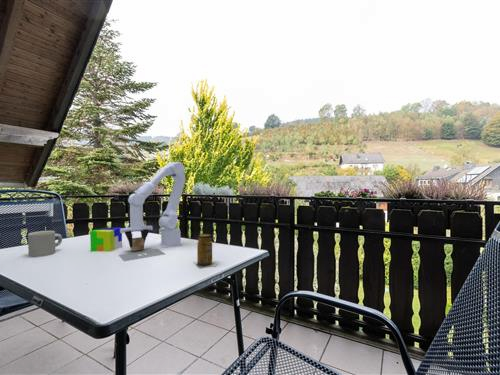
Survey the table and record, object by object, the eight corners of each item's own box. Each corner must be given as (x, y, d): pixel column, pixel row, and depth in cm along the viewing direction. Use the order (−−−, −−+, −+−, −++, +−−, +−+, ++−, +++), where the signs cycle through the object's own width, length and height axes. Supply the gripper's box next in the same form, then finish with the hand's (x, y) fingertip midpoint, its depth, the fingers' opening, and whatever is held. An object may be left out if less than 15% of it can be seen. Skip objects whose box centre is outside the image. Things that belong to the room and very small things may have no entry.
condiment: (210, 260, 116) (210, 232, 116) (216, 266, 109) (216, 236, 108) (193, 262, 113) (193, 234, 113) (199, 268, 105) (199, 238, 105)
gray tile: (157, 249, 134) (157, 248, 134) (166, 254, 124) (166, 254, 124) (118, 255, 123) (118, 254, 123) (124, 262, 114) (124, 261, 114)
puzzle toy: (122, 247, 139) (121, 227, 139) (110, 252, 129) (109, 231, 129) (103, 246, 140) (103, 227, 140) (90, 251, 130) (90, 231, 130)
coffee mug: (32, 258, 119) (31, 235, 119) (25, 254, 125) (25, 233, 125) (67, 251, 130) (66, 231, 129) (59, 248, 136) (58, 228, 135)
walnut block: (141, 247, 134) (141, 237, 134) (144, 249, 130) (143, 239, 130) (130, 248, 131) (130, 238, 131) (133, 251, 127) (133, 240, 127)
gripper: (122, 220, 123) (122, 250, 123) (154, 217, 132) (154, 245, 132) (118, 218, 128) (119, 247, 129) (149, 216, 137) (150, 242, 138)
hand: (136, 246), depth 131 cm, fingers closed on walnut block, 5 cm apart
